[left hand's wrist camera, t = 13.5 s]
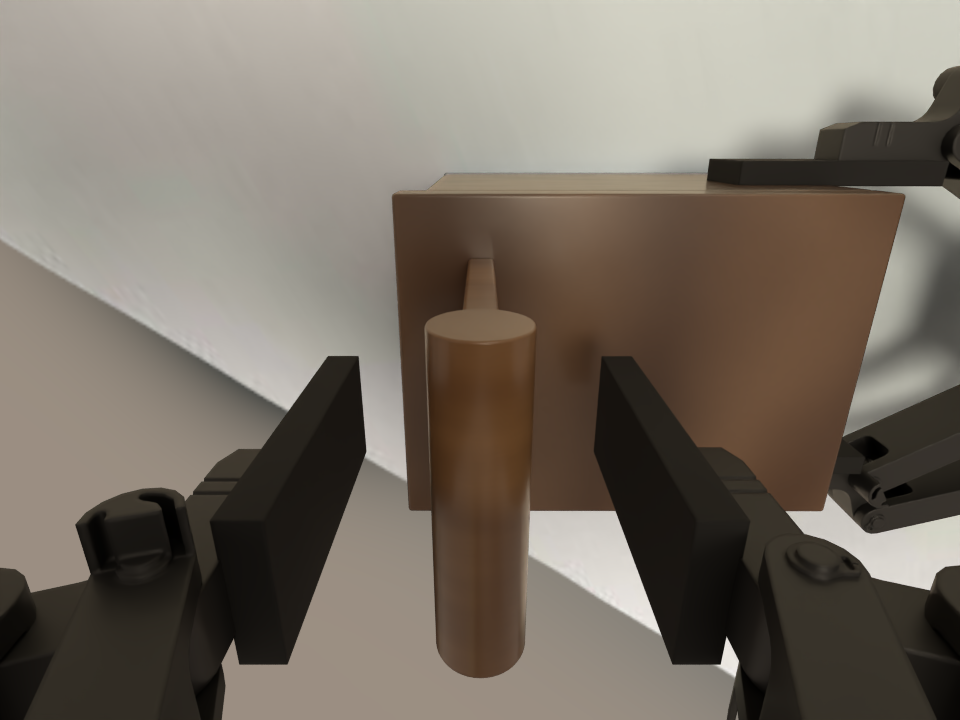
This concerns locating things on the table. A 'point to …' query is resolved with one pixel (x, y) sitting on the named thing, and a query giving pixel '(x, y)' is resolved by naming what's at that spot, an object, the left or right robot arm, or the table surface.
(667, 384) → the lid
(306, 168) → the table surface
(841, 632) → the left robot arm
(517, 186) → the chest
